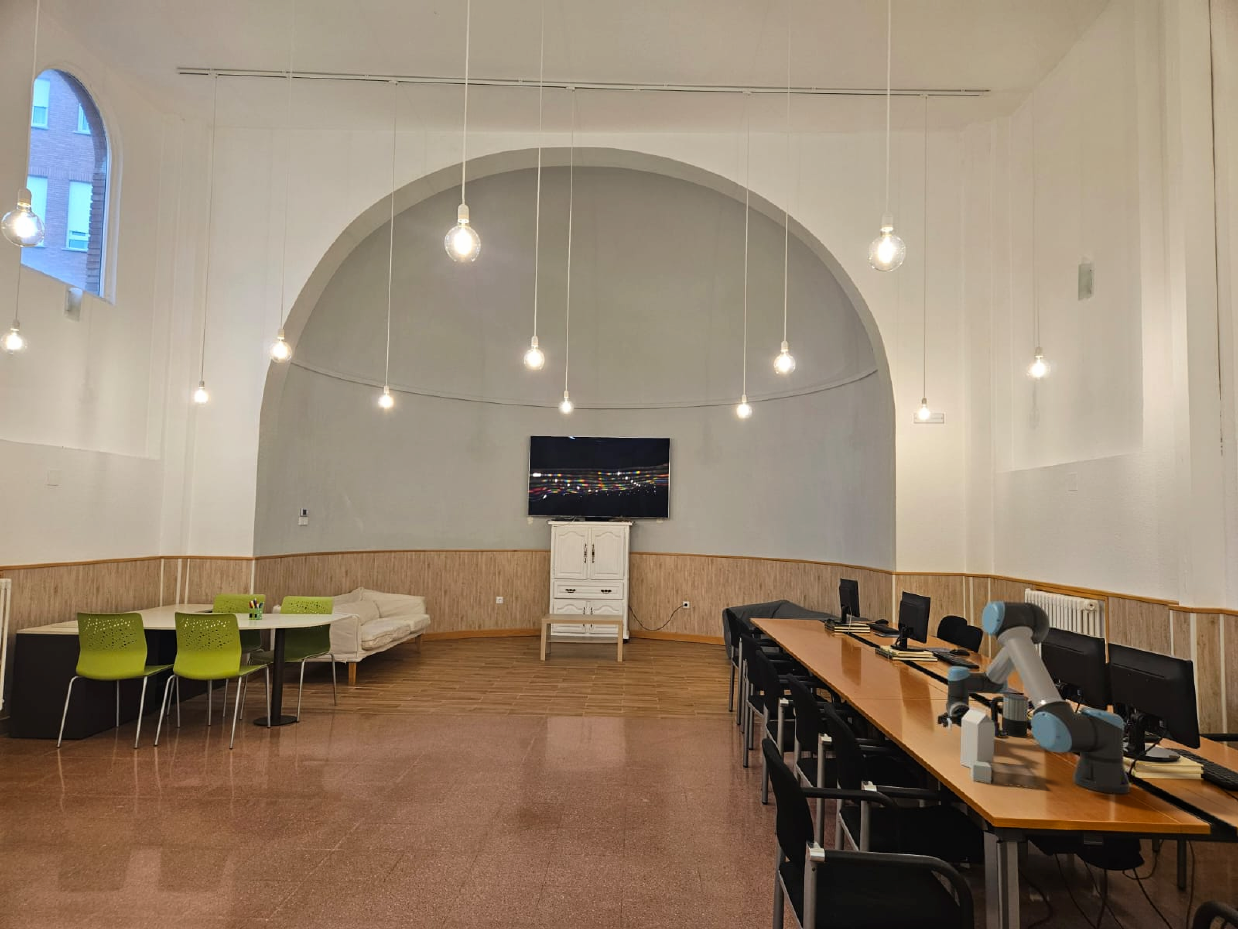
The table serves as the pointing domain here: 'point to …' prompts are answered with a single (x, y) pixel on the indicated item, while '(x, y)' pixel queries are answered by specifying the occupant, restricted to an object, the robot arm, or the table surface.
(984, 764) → the grey cube
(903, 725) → the table surface
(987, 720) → the milk carton
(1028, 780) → the walnut block
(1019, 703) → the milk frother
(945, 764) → the table surface
